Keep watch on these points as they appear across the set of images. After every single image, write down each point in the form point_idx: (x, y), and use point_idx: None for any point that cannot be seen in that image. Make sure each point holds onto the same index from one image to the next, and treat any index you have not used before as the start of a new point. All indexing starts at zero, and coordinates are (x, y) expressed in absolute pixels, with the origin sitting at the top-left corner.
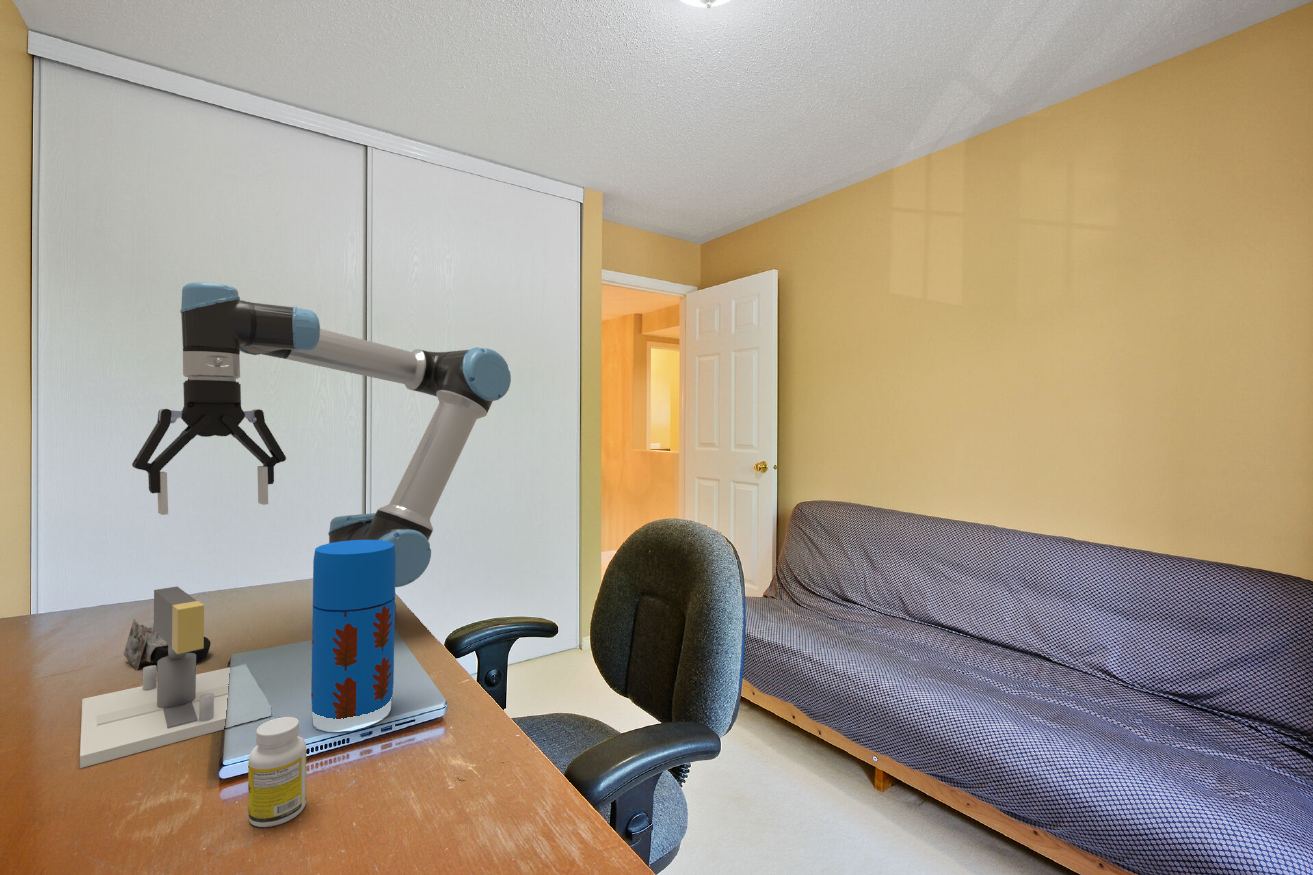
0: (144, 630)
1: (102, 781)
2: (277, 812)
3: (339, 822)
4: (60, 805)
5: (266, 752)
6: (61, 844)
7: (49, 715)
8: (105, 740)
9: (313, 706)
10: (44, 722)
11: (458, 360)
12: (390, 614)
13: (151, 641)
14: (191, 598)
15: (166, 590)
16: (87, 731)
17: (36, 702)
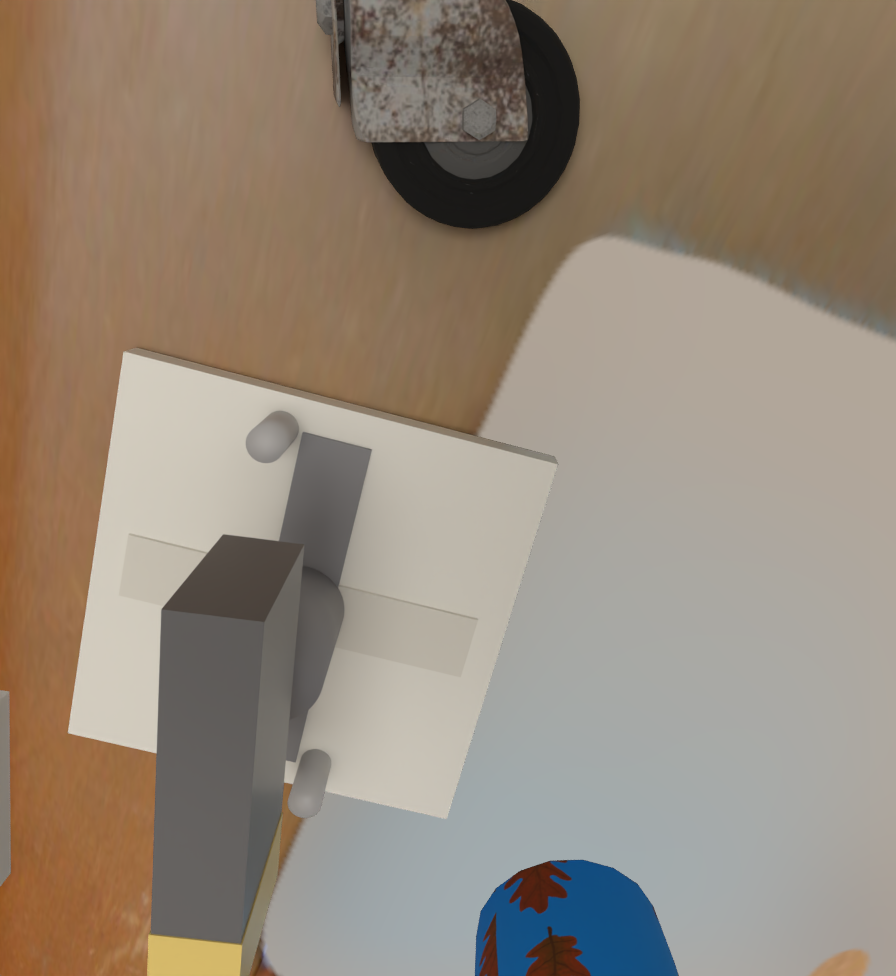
0: (336, 55)
1: (105, 804)
2: None
3: None
4: (37, 833)
5: None
6: (26, 950)
7: (64, 319)
8: (120, 696)
9: (477, 965)
10: (49, 365)
11: None
12: None
13: (368, 79)
14: (237, 887)
15: (202, 664)
16: (99, 608)
17: (45, 158)
